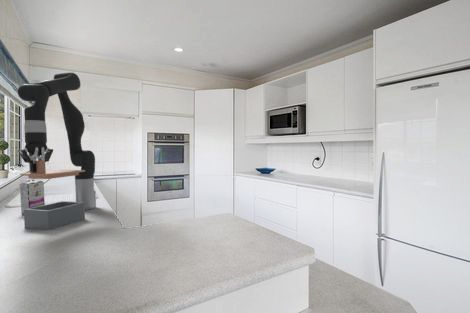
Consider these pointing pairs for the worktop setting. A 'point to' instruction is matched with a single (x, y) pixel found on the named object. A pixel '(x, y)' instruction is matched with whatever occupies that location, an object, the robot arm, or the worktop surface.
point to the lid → (49, 172)
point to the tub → (54, 215)
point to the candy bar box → (31, 195)
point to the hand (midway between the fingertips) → (37, 172)
